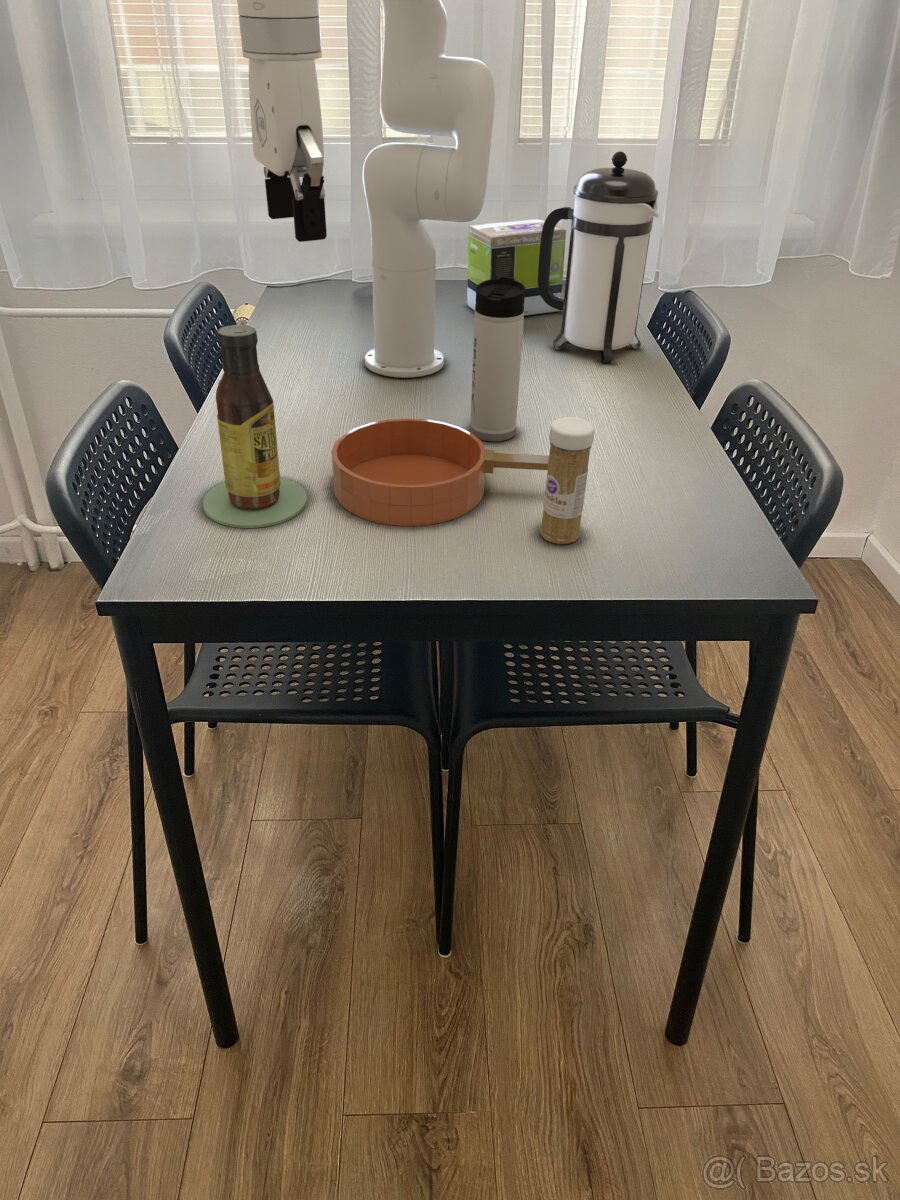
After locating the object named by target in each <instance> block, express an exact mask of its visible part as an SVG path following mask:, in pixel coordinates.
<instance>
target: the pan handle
mask: <svg viewBox="0 0 900 1200" xmlns="http://www.w3.org/2000/svg"><path fill="white" fill-rule="evenodd" d="M485 450H486V451H485V469H484V473H485V474H492V475H493V474H494V469H495V468H497V469H498V468H499V469H513V470H532V471H533V470H534V471H535V470H536V471H548V462H549V455H543V454H525V453H524V454H523V453H507V452H504V453H503V452H495V449H488V448H485Z"/></svg>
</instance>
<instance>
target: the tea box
mask: <svg viewBox="0 0 900 1200" xmlns="http://www.w3.org/2000/svg"><path fill="white" fill-rule="evenodd" d="M544 222H545V220H543V219H542V218H530V219H520V220H511V221H509V220H508V221H497V222H489V223H483V224H481V223H480V224H470V225H468V229H467V230H468V232H467V236H468V237H467V279H466V281H467V284H466V285H467V288H466V290H467V295H466V298H467V306H468V307H469V308H470V309H471V310H472V311H475V304H476V287H477V285H478V284H480V283H481V282H483V281H486V280H490V279H500V277H501V276H507V277H514V278H515V281H518V282H520V283H522V284H523V285H524V286H525V302H524V316H523V317H525V316H531V315H532V316H533V315H539V314H547V313H555V312H560V311H561V310H558V309H555V308H553V307H551V306H549V305H548V304H546V303H545V302H544V300H543V299H542V297H541V295H540V292H539V288H538V266H539V253H540V242H541V234H542V228H543V225H544ZM566 236H567V229H565V228H562V227H561V226H557V225H556V226H555V228H554V232H553V240H552V251H551V263H550V275H549V286H550V289H551V291H552V293H553V294H554V296H556V297H558V298H560V299H562V294H563V293H562V291H563V281H564V265H565V252H566V238H567V237H566Z"/></svg>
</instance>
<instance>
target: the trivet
mask: <svg viewBox="0 0 900 1200" xmlns="http://www.w3.org/2000/svg"><path fill="white" fill-rule="evenodd" d="M280 482H281V485H280V488H279V489H280V494H279V499H278V500H277V501H276V502H275V503H273V504H272V505H269V506H267V507H264V508H258V509H243V508H239V507H236V506H235V505H233V504H232V503H231V502H230V500H229V496H228V491H227V489H226V484H225V481H224V482H221V483H219V484H218V485H216V486H214V487H212V488H211V489H210V490H209V491H208V492H207V493H206V494H205V495H204V498H203V500H202V509H203V512H204V514H205V515H206V516H207V517H208V518H209V519H210V520H212V521H213V522H215V523H217V524H219V525H221V526H226V527H231V528H236V529H238V528H239V529H259V528H265V527H266V528H267V527H272V526H276V525H278V524H282V523H285V522H287V521H289V520H291V519H293V518H295V517H296V516H299V514H301V512H302V511H303V510H305V507H306V506H307V503H308V495H307V492H306V490H305V488H304V487H303V486H302V485H300V484H299V483H297V482H296V481H294V480H291V479H289V478H286V477H282V476H280Z"/></svg>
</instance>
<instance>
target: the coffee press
mask: <svg viewBox="0 0 900 1200" xmlns="http://www.w3.org/2000/svg"><path fill="white" fill-rule="evenodd" d="M627 162H628V156H627V154H626V153H625V152H624V151H616V152H615V153H614V154H613V156H612V158H611V163H612V165H613V166H614V167H599V168H593V169H590V170H588V171H586V172H584V173H582V175H581V176H580V177H579V179H578V180H577V183H576V184H575V185H574V186H573V191H572V192H573V196H574V206H573V208H572V207H570V206H563V207H558V208H556V209H553V210H552V211H551V212H550V213H549V214H548V215H547V216H546V218H545V220H544V221H545V222H544V225H543V228H542V234H541V242H540V253H539V266H538V288H539V292H540V295H541V297H542V299H543V300H544V302H545V303H546V304H548V305H549V306H551V307H553V308H555V309H558V310H560V311H561V312H562V314H561V315H562V317H561V325H560V326H561V327H560V331H559V333H558V335H557V336H556V337H555V338H554V340H553V341H552V346H553V348H554V349H555V351H561V350H563V349H564V348H565V347H566V346H567V345H573V346H576V347H579V348H581V349H586V350H592V351H599V353H600V358H601V364H611V363H612V362H613V350H619V349H623V348H625V347H626V346H628V345H629V346H630V347H631V348H632V349H633V350H638V349H640V347H641V346H642V343H641V341H640V339H639V337H638V335H637V326H638V319H639V312H640V306H641V299H642V292H643V285H644V278H645V271H646V265H647V258H648V251H649V245H650V237H651V232H652V229H653V223H654V218H659V217H660V212H661V211H660V206H659V201H658V197H659V190H657V187H656V183H655V180H654V179H653V178H652V177H651V176H650V175H649V174H647V173H646V172H644V171H640V170H637V169H632V168H625V167H624V166H625V165H627ZM562 220H571V223H570V227H571V229H570V235H569V243H568V244H569V246H568V255H567V256H568V257H567V264H566V276H565V285H564V286H565V287H564V294H563V296H564V297H563V298H561V299H560V298H558V297H556V296H554V294H553V293H552V291H551V289H550V286H549V275H550V263H551V251H552V240H553V232H554V228H555V226H557V224H558V223H559V222H560V221H562ZM562 337H564V339H565V341H563V342H562V343H561V344H560V345H558V346H556V345H557V343H558V342H559V341H560V340H561V338H562ZM634 337H635V338H636V340H637V343H636V344H635V345H632V344H631V343H632V342H633V340H634Z"/></svg>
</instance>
